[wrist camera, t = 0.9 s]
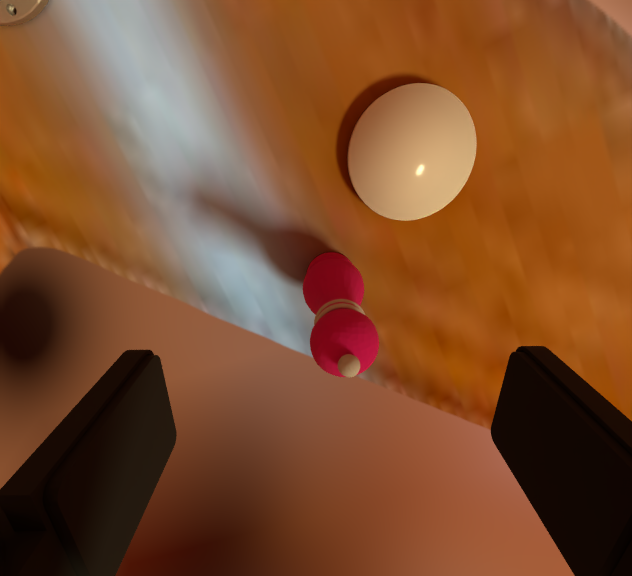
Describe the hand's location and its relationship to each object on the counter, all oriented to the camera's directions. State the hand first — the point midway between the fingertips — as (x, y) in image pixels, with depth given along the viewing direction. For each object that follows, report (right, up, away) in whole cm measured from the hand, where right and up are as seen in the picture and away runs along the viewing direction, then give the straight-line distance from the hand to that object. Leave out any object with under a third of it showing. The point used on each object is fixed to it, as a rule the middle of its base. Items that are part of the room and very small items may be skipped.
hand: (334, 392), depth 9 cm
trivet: (+10, +18, +29) cm, 36 cm away
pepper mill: (+1, +5, +35) cm, 35 cm away
